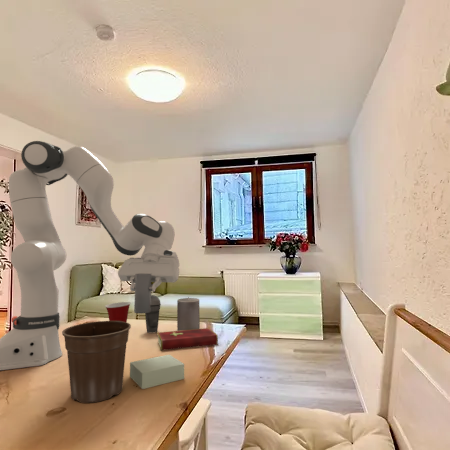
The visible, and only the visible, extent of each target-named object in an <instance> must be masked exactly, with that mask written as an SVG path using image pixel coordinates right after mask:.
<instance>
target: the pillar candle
mask: <svg viewBox="0 0 450 450" xmlns="http://www.w3.org/2000/svg"><path fill="white" fill-rule="evenodd" d="M176 304H177V312H176V313H177V316H176V317H177V318H176V319H177V322H176V323H177V325H176V328H177V330H176V331H180V330H192V329H201V326H200V324H201V323H200V299H199V298H195V297H190V296H187V297H185V298H180V299H179V298H178V299H177V303H176Z"/></svg>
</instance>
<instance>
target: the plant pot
mask: <svg viewBox="0 0 450 450" xmlns="http://www.w3.org/2000/svg"><path fill="white" fill-rule="evenodd" d="M131 327H132V325H131V323H129V322H128V321H127V322H123V321H109V320H102V321H101V320H99V321H90V322H84V323H80V324H79V323H78V324H76V325H71V326H69V327H66V328H64V329H63V330H62V336H63V338H64V344H65V345H64V348H65V349H66V353H67V362H68V363H67V365H68V374H69V386H70V388H69V389H70V397H71V399H72V400H73V401H76V400H77V402H79V403H86V404H90V403H91V404H93V403H100V402H102V401H103V402H104V401H106V400H107V401H108V400H109V399H111V398H112V396H118V395H119V394H120V393H121V392H122V391H123V388H124V373H125V361H126V351H127V343H128V342H129V332H130V329H131Z"/></svg>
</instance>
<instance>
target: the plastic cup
mask: <svg viewBox="0 0 450 450" xmlns="http://www.w3.org/2000/svg"><path fill="white" fill-rule="evenodd" d="M130 306H131V302H130V301H120V302H113V303H108V304H106V305H104V307H105V309H106V311H107V314H108V315H107V317H108V321H123V322H127V323H128V316H129V310H130Z"/></svg>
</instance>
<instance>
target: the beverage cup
mask: <svg viewBox="0 0 450 450" xmlns="http://www.w3.org/2000/svg"><path fill="white" fill-rule="evenodd" d="M160 309H161V300H160V298H159V297H158V296H157V295H152V294H151V306H150V312H149V313H144V314H145V326H146V333H147V334H154V333H156V334H157V332H158V327H159V321H160V319H159V318H160Z"/></svg>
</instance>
